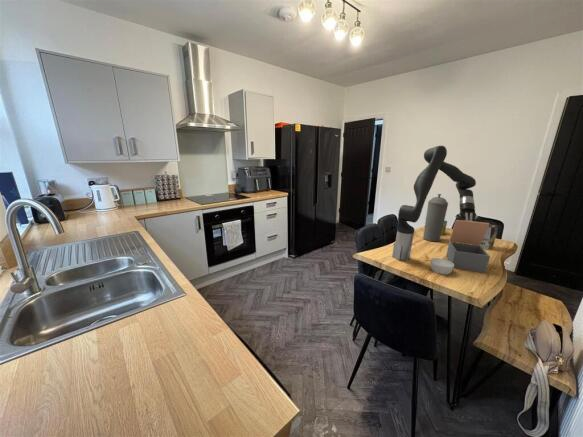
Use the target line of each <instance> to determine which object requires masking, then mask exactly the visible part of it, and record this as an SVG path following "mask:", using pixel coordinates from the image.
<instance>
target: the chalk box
mask: <svg viewBox="0 0 583 437" xmlns="http://www.w3.org/2000/svg"><path fill="white" fill-rule="evenodd" d="M447 223H448V221H447V220H446V219H445V220H444V224H443V228H442V232H441V236H442V235H445V233H446V229H447V226H448V225H447Z"/></svg>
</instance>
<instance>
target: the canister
mask: <svg viewBox="0 0 583 437" xmlns="http://www.w3.org/2000/svg"><path fill="white" fill-rule="evenodd" d="M441 195H442V193H437V196H435V197H432V198H431V199H429V200H428V202H427V209H426V215H425V216H426V217H425V222H424V230H423V236H422V237H423V239H424V240H425V241H428V242H439V241H440V239H441V236H442V235H441V232H442V228H443V224H444V220H445V221H446V216H447V210H448V206H449V202H448V201H447V199H446V198H444V197H441Z"/></svg>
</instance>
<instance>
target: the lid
mask: <svg viewBox="0 0 583 437" xmlns="http://www.w3.org/2000/svg"><path fill="white" fill-rule="evenodd" d="M489 224H490V222H482V221H477V222H474V220H472V221H463V220H458V219H455V222H454V225H453V228H452V231H451V234H450V237H449V240H448V241H449V242H454V243H462V244H470V245H477V246H478V245H481V242H482V240H483V238H484V236H485V233H486V231H487V229H488V226H489ZM449 242H448V243H449Z"/></svg>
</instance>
